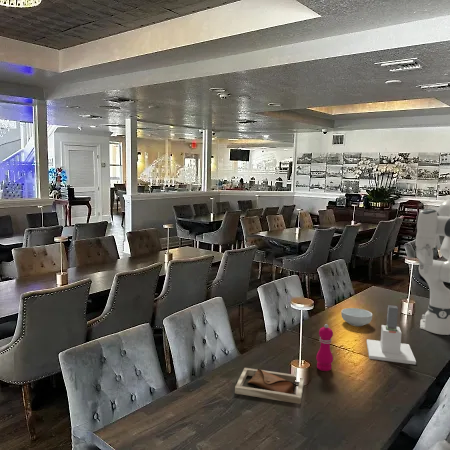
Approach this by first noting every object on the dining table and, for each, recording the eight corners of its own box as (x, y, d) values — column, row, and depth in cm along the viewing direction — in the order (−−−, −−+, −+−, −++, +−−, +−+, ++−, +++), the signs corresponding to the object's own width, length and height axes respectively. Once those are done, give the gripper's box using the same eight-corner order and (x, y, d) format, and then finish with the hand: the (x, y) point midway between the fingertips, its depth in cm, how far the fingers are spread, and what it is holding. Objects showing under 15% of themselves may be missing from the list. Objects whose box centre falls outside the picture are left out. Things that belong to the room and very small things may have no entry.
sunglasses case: (245, 382, 166) (251, 365, 168) (254, 384, 171) (259, 368, 173) (284, 398, 155) (289, 380, 157) (292, 400, 160) (297, 383, 162)
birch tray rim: (244, 373, 175) (244, 367, 175) (304, 382, 169) (304, 376, 169) (234, 393, 159) (235, 387, 159) (300, 403, 153) (300, 397, 152)
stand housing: (366, 342, 211) (367, 318, 210) (408, 347, 206) (410, 323, 204) (369, 358, 192) (370, 333, 190) (415, 364, 187) (417, 338, 185)
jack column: (385, 336, 201) (387, 304, 199) (394, 337, 200) (397, 305, 198) (386, 340, 197) (388, 307, 195) (396, 341, 195) (398, 308, 194)
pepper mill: (332, 372, 178) (335, 327, 175) (315, 370, 179) (318, 326, 177) (332, 365, 185) (334, 322, 182) (315, 363, 186) (317, 320, 184)
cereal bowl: (374, 322, 240) (375, 311, 239) (367, 331, 226) (368, 319, 225) (345, 316, 249) (346, 305, 248) (337, 325, 235) (337, 313, 234)
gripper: (437, 247, 188) (435, 276, 189) (428, 240, 207) (426, 267, 209) (422, 246, 189) (420, 275, 191) (414, 239, 209) (412, 266, 211)
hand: (423, 271), depth 200 cm, fingers open, 8 cm apart
